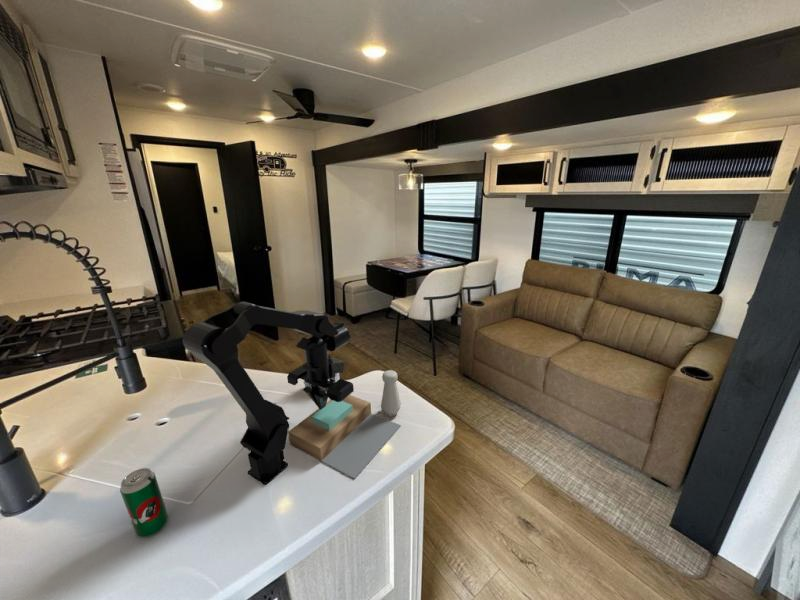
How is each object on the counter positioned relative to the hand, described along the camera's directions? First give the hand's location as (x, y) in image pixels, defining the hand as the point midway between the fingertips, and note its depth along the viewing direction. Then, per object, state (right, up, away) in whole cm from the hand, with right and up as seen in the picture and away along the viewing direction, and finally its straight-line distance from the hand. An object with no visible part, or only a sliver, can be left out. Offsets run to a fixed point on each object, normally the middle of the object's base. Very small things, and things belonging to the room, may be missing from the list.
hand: (322, 409), depth 87 cm
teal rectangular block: (+3, -1, -2) cm, 4 cm away
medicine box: (-3, +1, +19) cm, 19 cm away
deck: (+3, -5, 0) cm, 6 cm away
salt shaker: (+19, -3, +6) cm, 20 cm away
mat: (+12, -7, -5) cm, 15 cm away
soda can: (-26, -14, -25) cm, 39 cm away
